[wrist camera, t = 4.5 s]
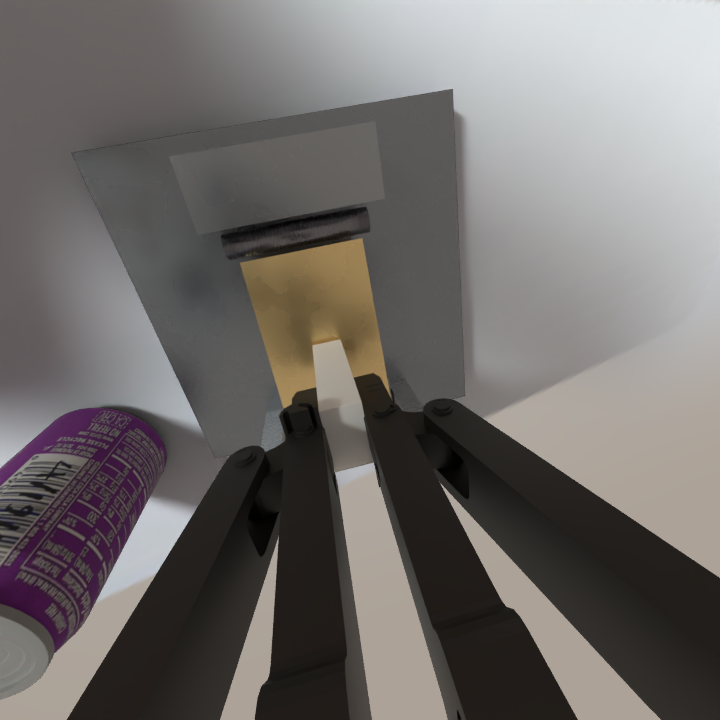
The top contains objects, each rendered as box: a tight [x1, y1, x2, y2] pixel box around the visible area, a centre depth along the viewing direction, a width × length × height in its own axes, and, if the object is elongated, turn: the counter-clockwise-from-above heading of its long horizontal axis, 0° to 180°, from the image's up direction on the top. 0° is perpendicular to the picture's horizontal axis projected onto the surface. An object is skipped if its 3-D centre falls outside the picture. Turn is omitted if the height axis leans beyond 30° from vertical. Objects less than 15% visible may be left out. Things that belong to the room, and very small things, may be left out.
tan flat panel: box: [221, 207, 390, 408], centre depth 18 cm, size 7×13×2 cm, turn 10°
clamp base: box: [72, 89, 465, 459], centre depth 18 cm, size 18×18×6 cm
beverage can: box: [0, 408, 167, 700], centre depth 17 cm, size 7×7×12 cm
